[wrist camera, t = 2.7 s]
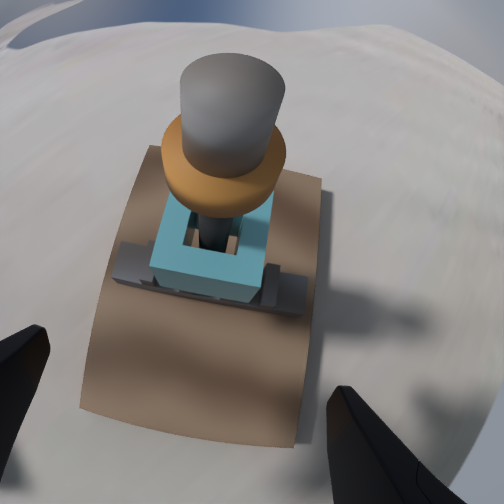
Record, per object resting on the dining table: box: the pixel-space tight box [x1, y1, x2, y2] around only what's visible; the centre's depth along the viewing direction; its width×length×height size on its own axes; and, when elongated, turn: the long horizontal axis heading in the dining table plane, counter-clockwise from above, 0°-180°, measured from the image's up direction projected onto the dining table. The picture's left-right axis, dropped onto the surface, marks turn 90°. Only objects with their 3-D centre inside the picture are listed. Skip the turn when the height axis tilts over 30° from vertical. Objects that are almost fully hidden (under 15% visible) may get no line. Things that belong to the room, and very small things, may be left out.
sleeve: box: [149, 191, 274, 303], centre depth 13 cm, size 4×4×3 cm
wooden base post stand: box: [80, 53, 322, 448], centre depth 13 cm, size 20×14×17 cm
